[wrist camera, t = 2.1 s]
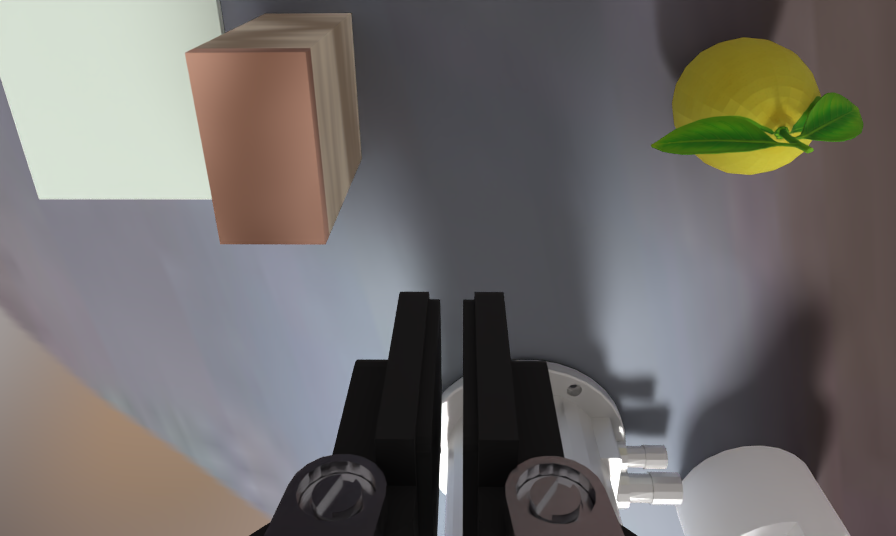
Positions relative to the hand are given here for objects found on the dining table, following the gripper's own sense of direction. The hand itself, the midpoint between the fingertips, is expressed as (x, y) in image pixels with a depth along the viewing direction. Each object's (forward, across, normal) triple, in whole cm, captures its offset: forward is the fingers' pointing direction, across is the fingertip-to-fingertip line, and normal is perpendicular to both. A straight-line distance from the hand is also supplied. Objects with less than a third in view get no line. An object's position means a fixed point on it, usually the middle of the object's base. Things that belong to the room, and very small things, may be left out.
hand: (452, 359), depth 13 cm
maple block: (+22, +7, 0) cm, 23 cm away
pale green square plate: (+22, +16, 0) cm, 28 cm away
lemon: (+22, -12, 0) cm, 25 cm away
